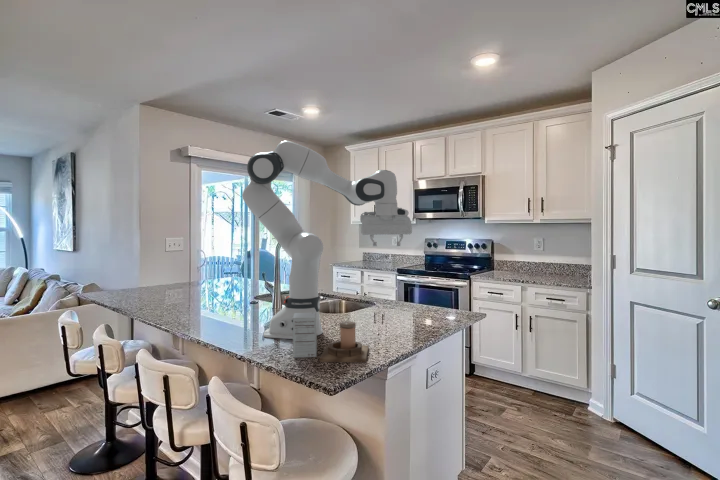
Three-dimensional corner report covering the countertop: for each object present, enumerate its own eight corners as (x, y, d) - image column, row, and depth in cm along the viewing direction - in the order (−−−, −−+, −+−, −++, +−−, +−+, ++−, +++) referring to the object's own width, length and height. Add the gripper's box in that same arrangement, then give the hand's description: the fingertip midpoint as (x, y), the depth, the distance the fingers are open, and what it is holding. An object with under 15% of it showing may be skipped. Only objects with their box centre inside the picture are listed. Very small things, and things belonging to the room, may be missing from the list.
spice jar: (339, 353, 122) (338, 325, 122) (341, 349, 127) (341, 321, 127) (355, 354, 121) (354, 325, 121) (356, 349, 126) (356, 321, 126)
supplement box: (294, 350, 129) (294, 312, 129) (317, 349, 130) (316, 312, 129) (292, 358, 122) (292, 317, 121) (316, 357, 122) (316, 317, 122)
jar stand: (319, 361, 118) (319, 351, 118) (327, 347, 132) (327, 339, 132) (365, 362, 116) (365, 352, 116) (368, 348, 130) (368, 339, 130)
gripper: (359, 211, 153) (360, 246, 153) (412, 210, 151) (412, 246, 152) (360, 212, 159) (361, 246, 160) (411, 211, 158) (411, 245, 158)
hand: (386, 246), depth 156 cm, fingers open, 8 cm apart
